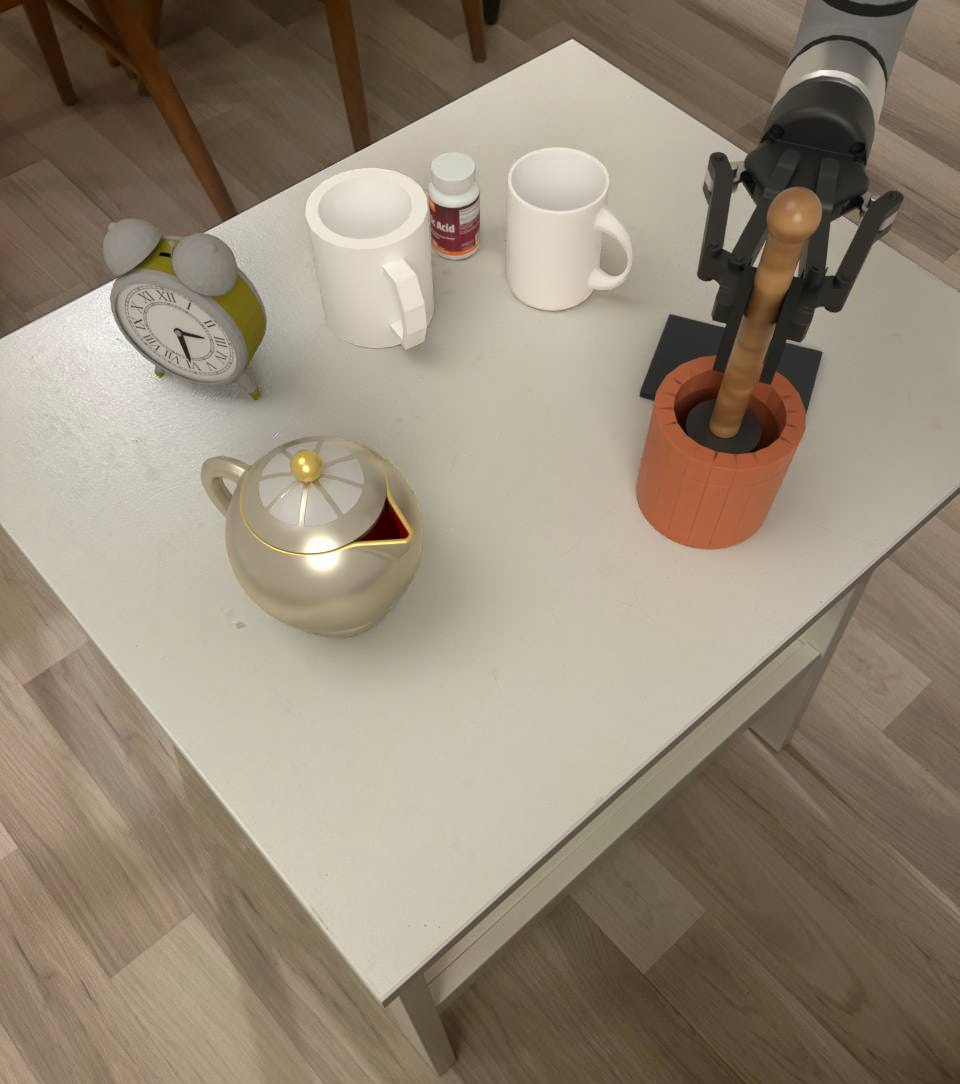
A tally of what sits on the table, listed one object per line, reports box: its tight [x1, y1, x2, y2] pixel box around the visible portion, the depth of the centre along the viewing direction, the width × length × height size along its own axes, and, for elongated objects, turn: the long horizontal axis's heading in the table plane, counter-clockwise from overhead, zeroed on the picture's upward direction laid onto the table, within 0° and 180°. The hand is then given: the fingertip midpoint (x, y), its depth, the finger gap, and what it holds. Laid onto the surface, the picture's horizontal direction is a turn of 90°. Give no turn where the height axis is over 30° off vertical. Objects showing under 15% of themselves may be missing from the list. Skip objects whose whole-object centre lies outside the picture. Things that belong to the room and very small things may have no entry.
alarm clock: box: [102, 217, 268, 400], centre depth 76 cm, size 12×7×15 cm, turn 73°
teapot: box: [200, 435, 424, 639], centre depth 65 cm, size 18×14×16 cm
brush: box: [683, 187, 822, 454], centre depth 62 cm, size 6×6×24 cm
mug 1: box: [305, 167, 435, 351], centre depth 81 cm, size 14×10×11 cm
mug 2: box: [505, 146, 634, 312], centre depth 83 cm, size 9×12×11 cm
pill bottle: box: [427, 151, 481, 261], centre depth 87 cm, size 5×5×8 cm
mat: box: [639, 313, 824, 415], centre depth 82 cm, size 14×10×1 cm
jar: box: [635, 355, 807, 550], centre depth 72 cm, size 11×11×10 cm
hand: (746, 360), depth 56 cm, fingers closed on brush, 2 cm apart
